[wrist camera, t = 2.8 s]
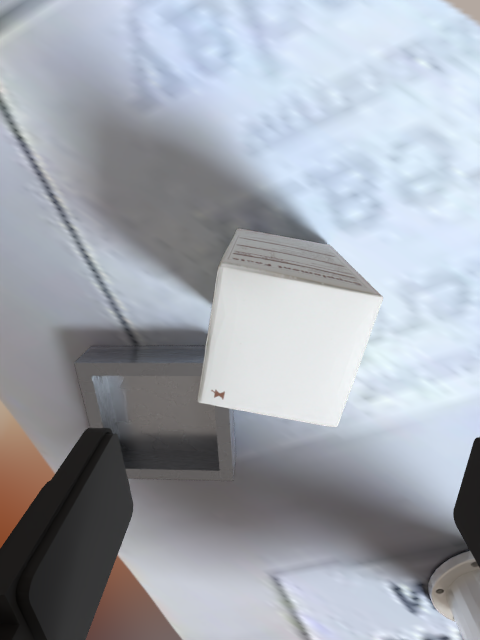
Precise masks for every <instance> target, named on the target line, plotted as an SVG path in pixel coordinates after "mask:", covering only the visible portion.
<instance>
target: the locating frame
mask: <svg viewBox="0 0 480 640" xmlns="http://www.w3.org/2000/svg"><path fill="white" fill-rule="evenodd" d="M205 347H206V346H91V347H90V348H89V349H88V350H87V351H86V352H85V353H84V354H83V355H82V356H81V357H80V358H79V359H78V360H77V361H76V362H75V363H74V365H75V369H76V373H77V377H78V381H79V385H80V389H81V393H82V397H83V401H84V405H85V409H86V413H87V417H88V421H89V425H90V428H110V429H111V430H112V433H113V434H117V435H118V438H119V442H120V447H121V451H122V456H123V460H124V465H125V469H126V474H127V478H134V479H174V480H214V481H233V479H234V469H235V459H236V452H235V433H234V414H233V409H230V408H224V407H219V406H214V405H210V404H204V403H199V402H198V400H197V399H198V394H199V388H200V381H201V375H202V369H203V362H204V356H205Z"/></svg>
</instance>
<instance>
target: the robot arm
mask: <svg viewBox="0 0 480 640" xmlns="http://www.w3.org/2000/svg"><path fill="white" fill-rule="evenodd" d="M132 512H133V501H132V496H131V492H130V487H129V483H128V478H127V474H126V469H125V465H124V460H123V456H122V451H121V447H120V442H119V438H118V435H117V434H113V433H112V430H111V429H110V428H88V429H86V430H85V431H84V433H83V434H82V436H81V437H80V439H79V440H78V442H77V443H76V444H75V446H74V447H73V449H72V450H71V452H70V453H69V455H68V456H67V458H66V459H65V461H64V462H63V464H62V465H61V466H60V468H59V469H58V471H57V472H56V474H55V475H54V477H53V478H52V480H51V481H49V482H47V484H45V486H44V487H43V488H42V489H41V491H40V492H39V494H38V495H37V497H36V498H35V499H34V501H33V502H32V504H31V505H30V507H29V508H28V510H27V511H26V512H25V514H24V515H23V517H22V518H21V520H20V521H19V523H18V524H17V526H16V527H15V528H14V530H13V531H12V533H11V534H10V536H9V537H8V539H7V540H6V541H5V543H4V544H3V546H2V547H1V548H0V640H85V639H86V637H87V634H88V631H89V629H90V626H91V623H92V621H93V618H94V615H95V613H96V610H97V607H98V605H99V602H100V599H101V597H102V594H103V591H104V589H105V586H106V584H107V581H108V578H109V575H110V573H111V570H112V568H113V565H114V562H115V559H116V557H117V554H118V552H119V549H120V546H121V544H122V541H123V538H124V536H125V533H126V530H127V528H128V525H129V522H130V520H131V517H132ZM453 513H454V520H455V523H456V526H457V528H458V530H459V531H460V533H461V535H462V537H463V539H464V541H465V542H466V544H467V546H468V548H469V550H470V551H467V552H464V553H461V554H459V555H457V556H454V557H452V558H450V559H449V560H447V561H446V562H444V563H443V564H441V565H440V566H439V567H438V568H437V569H436V570H435V572H434V573H433V575H432V576H431V578H430V581H429V584H428V591H429V595H430V598H431V600H432V602H433V605H434V607H435V608H436V609H437V610H438V612H439V613H441V614H442V615H443V616H445V617H446V618H448V619H450V620H452V621H454V622H456V624H457V626H458V628H459V631H460V633H461V635H462V638H463V640H480V438H476V439H475V440H474V443H473V446H472V450H471V453H470V457H469V460H468V463H467V467H466V470H465V474H464V477H463V480H462V484H461V487H460V491H459V494H458V497H457V501H456V504H455V508H454V512H453Z"/></svg>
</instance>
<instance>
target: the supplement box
mask: <svg viewBox="0 0 480 640" xmlns="http://www.w3.org/2000/svg"><path fill="white" fill-rule="evenodd" d="M382 301H383V297H382V296H381V295H380V294H379V293H378V292H377V291H376V290H375V289H374V288H373V287H372V286H371V285H370V284H369V283H368V282H367V281H366V280H365V279H364V278H363V277H362V276H361V275H360V274H359V273H358V272H357V271H356V270H355V269H354V268H353V267H352V266H351V265H350V264H349V263H348V262H347V261H346V260H345V259H344V258H343V257H342V256H341V255H340V254H339V253H338V252H337V251H336V250H335V249H334V248H333V247H332V246H330V245H329V244H322V243H316V242H311V241H305V240H300V239H295V238H289V237H284V236H279V235H274V234H268V233H263V232H258V231H252V230H247V229H241V228H238V229H237V230H236V232H235V234H234V236H233V238H232V240H231V242H230V244H229V246H228V247H227V249H226V251H225V253H224V255H223V257H222V259H221V261H220V264H219V266H218V270H217V277H216V283H215V290H214V297H213V303H212V310H211V316H210V323H209V329H208V335H207V340H206V347H205V356H204V362H203V369H202V375H201V381H200V388H199V394H198V399H197V400H198V402H199V403H204V404H210V405H214V406H219V407H224V408H230V409H235V410H241V411H246V412H252V413H257V414H262V415H268V416H274V417H279V418H284V419H290V420H295V421H301V422H306V423H312V424H317V425H323V426H330V427H337V426H338V423H339V421H340V418H341V415H342V412H343V410H344V407H345V404H346V402H347V399H348V396H349V393H350V390H351V388H352V385H353V382H354V379H355V376H356V374H357V371H358V368H359V365H360V362H361V360H362V357H363V354H364V351H365V348H366V346H367V343H368V340H369V337H370V334H371V331H372V328H373V325H374V323H375V320H376V317H377V314H378V311H379V308H380V306H381V303H382Z"/></svg>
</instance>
